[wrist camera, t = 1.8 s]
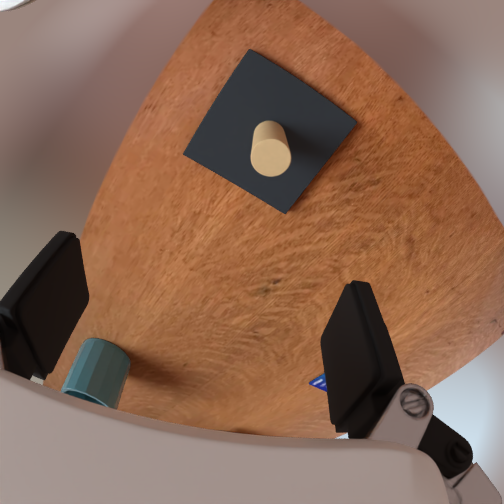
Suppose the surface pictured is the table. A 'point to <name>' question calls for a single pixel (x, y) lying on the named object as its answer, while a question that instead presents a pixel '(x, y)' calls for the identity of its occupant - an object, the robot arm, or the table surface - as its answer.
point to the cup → (98, 373)
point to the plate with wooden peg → (268, 132)
